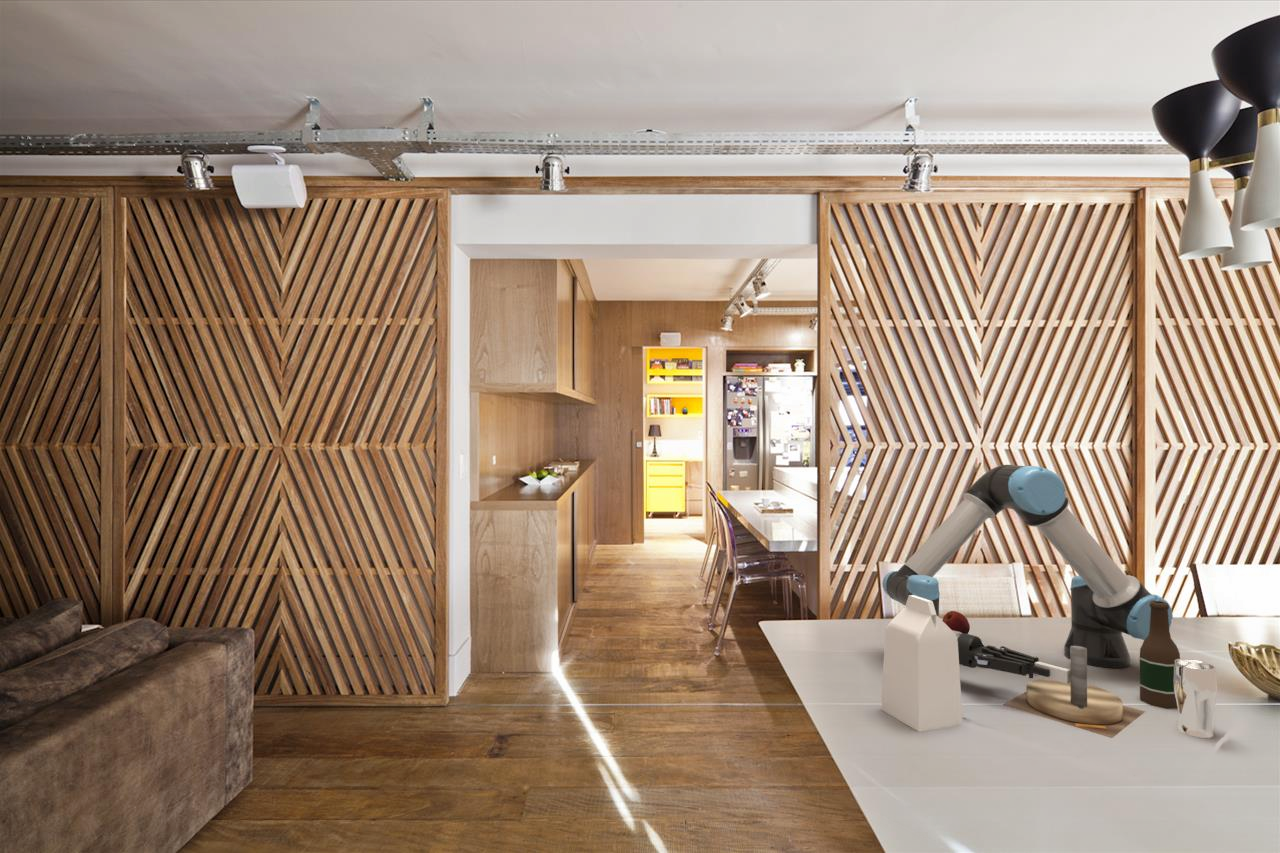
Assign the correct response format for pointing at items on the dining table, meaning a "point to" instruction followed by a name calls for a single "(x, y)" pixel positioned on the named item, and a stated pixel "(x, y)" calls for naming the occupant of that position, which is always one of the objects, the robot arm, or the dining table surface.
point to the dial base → (1101, 729)
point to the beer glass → (1195, 696)
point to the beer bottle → (1158, 660)
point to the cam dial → (1075, 695)
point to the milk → (921, 669)
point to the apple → (956, 622)
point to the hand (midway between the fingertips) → (1068, 676)
